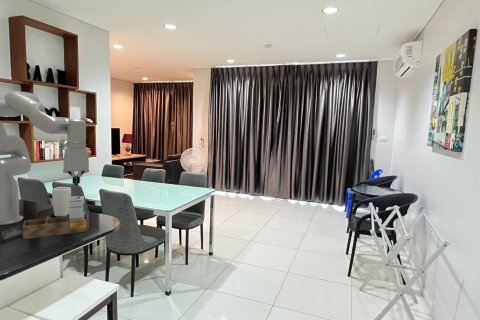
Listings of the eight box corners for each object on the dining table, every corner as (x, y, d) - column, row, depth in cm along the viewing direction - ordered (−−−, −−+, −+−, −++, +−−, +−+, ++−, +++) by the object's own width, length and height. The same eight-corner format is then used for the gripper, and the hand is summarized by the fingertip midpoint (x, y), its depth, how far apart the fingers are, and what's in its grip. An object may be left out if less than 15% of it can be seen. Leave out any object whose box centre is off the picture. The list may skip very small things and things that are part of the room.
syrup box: (83, 228, 140) (83, 198, 138) (69, 229, 138) (68, 199, 136) (84, 224, 145) (84, 195, 143) (71, 225, 143) (70, 196, 141)
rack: (22, 239, 127) (22, 226, 126) (24, 232, 134) (24, 220, 134) (88, 231, 140) (88, 219, 139) (87, 225, 147) (87, 214, 147)
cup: (72, 213, 163) (72, 187, 162) (65, 217, 156) (64, 190, 154) (59, 213, 163) (58, 186, 161) (51, 217, 156) (50, 189, 154)
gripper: (57, 146, 130) (57, 187, 132) (95, 147, 137) (94, 186, 140) (57, 144, 136) (57, 184, 138) (93, 145, 144) (93, 182, 146)
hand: (76, 184), depth 139 cm, fingers closed
